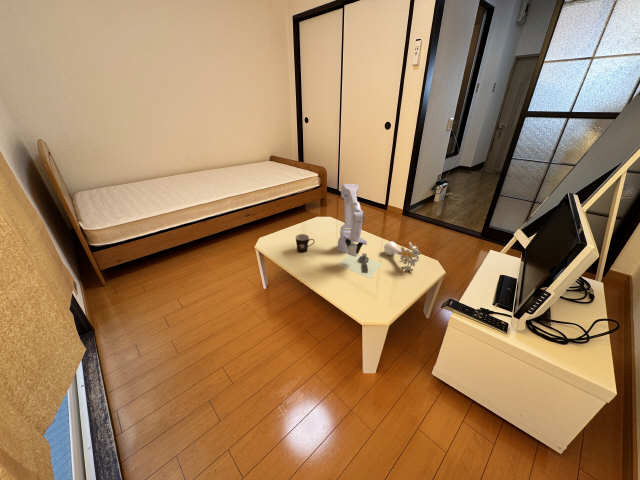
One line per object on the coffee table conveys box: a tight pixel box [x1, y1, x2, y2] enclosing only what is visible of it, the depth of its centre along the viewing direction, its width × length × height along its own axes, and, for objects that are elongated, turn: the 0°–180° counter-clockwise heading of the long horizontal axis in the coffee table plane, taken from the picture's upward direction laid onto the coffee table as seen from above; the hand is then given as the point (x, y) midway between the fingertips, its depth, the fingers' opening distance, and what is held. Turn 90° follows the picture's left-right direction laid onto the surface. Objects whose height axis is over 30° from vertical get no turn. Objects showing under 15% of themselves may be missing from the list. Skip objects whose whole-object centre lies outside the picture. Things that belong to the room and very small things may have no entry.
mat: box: [337, 254, 383, 279], centre depth 151 cm, size 22×18×1 cm
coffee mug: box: [295, 233, 315, 254], centre depth 160 cm, size 12×9×10 cm
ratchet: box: [359, 252, 370, 273], centre depth 149 cm, size 16×6×4 cm, turn 176°
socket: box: [347, 242, 358, 257], centre depth 147 cm, size 5×5×6 cm
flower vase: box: [383, 240, 421, 271], centre depth 153 cm, size 13×18×25 cm
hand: (353, 251), depth 147 cm, fingers closed on socket, 5 cm apart
